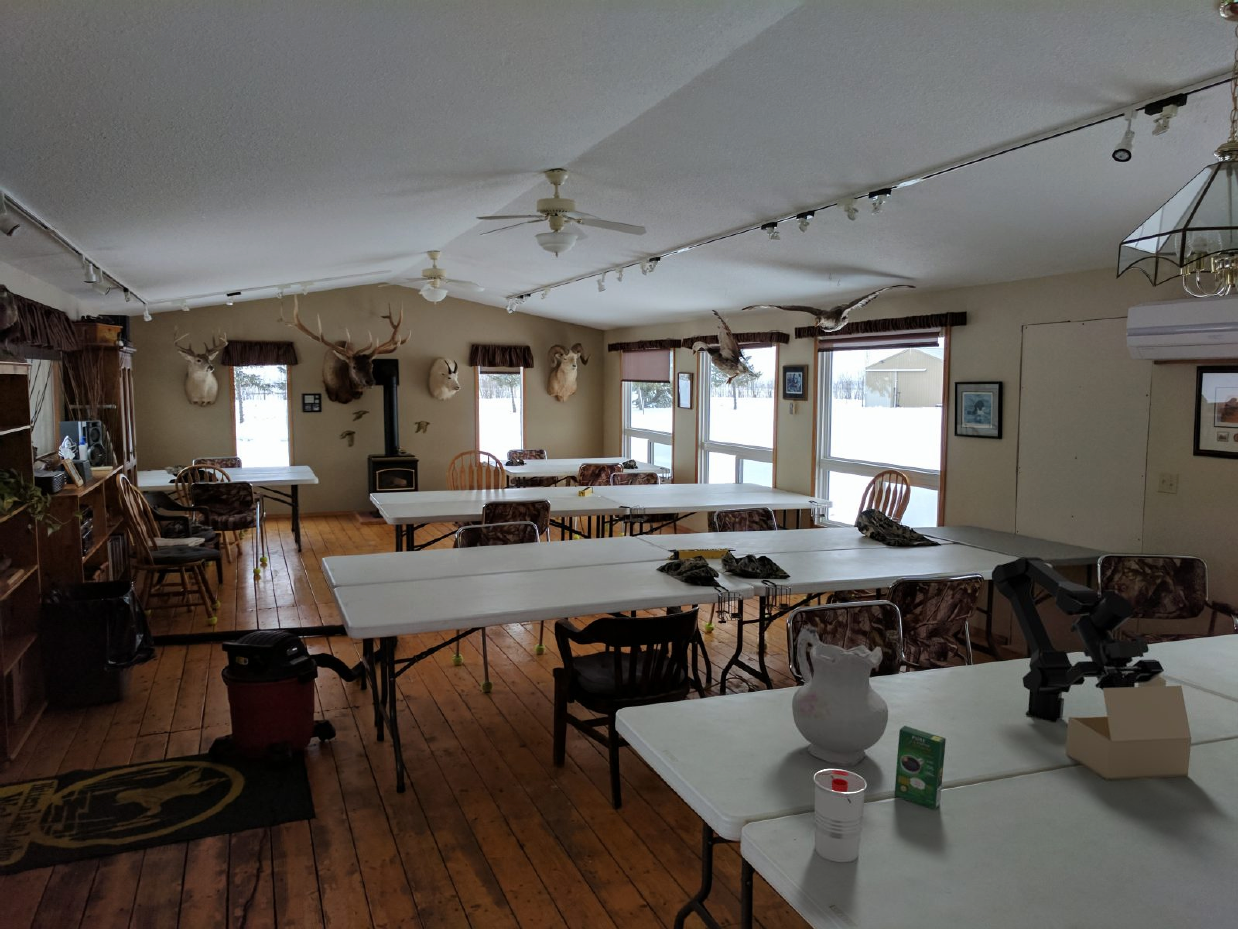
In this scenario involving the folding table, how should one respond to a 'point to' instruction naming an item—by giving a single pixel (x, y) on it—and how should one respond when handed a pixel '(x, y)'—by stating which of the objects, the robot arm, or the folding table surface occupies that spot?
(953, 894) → the folding table surface
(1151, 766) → the carton
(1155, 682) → the candle
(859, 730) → the ceramic pitcher
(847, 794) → the striped cup with float
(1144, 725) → the carton flap
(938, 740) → the coffee box
